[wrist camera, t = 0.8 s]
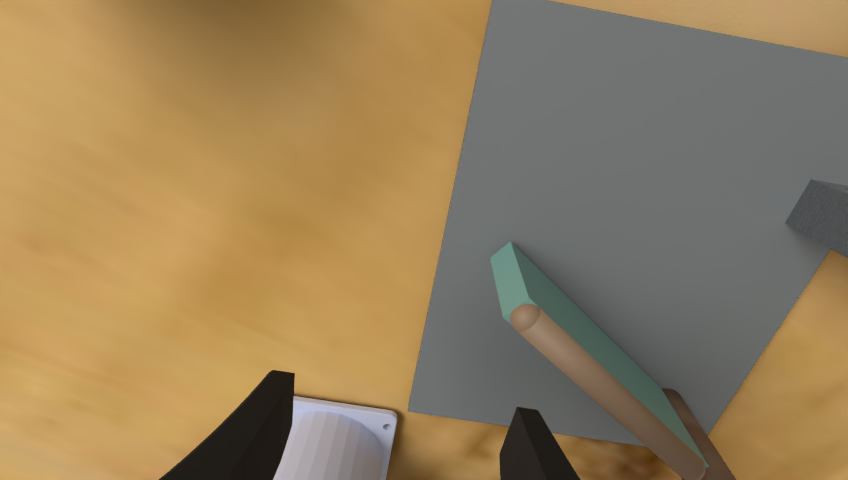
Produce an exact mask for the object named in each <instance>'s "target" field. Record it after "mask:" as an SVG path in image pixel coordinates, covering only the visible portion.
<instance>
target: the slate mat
mask: <svg viewBox="0 0 848 480" xmlns="http://www.w3.org/2000/svg"><path fill="white" fill-rule="evenodd" d="M811 179H812V180H818V181H823V182H829V183H834V184H840V185H846V186H848V58H847V57H841V56H836V55H831V54H826V53H820V52H815V51H810V50H805V49H799V48H794V47H789V46H784V45H778V44H773V43H768V42H763V41H757V40H752V39H747V38H742V37H737V36H731V35H726V34H721V33H716V32H710V31H705V30H700V29H695V28H689V27H684V26H679V25H674V24H668V23H663V22H658V21H653V20H647V19H642V18H637V17H632V16H626V15H621V14H616V13H611V12H606V11H600V10H595V9H590V8H585V7H579V6H574V5H569V4H564V3H558V2H553V1H548V0H492V4H491V9H490V14H489V19H488V23H487V28H486V33H485V38H484V43H483V48H482V52H481V57H480V62H479V67H478V72H477V76H476V81H475V86H474V91H473V96H472V101H471V105H470V110H469V115H468V120H467V125H466V130H465V134H464V139H463V144H462V149H461V154H460V158H459V163H458V168H457V173H456V178H455V183H454V187H453V192H452V197H451V202H450V207H449V212H448V216H447V221H446V226H445V231H444V236H443V240H442V245H441V250H440V255H439V260H438V265H437V269H436V274H435V279H434V284H433V289H432V294H431V298H430V303H429V308H428V313H427V318H426V322H425V327H424V332H423V337H422V342H421V347H420V351H419V356H418V361H417V366H416V371H415V376H414V380H413V385H412V390H411V395H410V400H409V406H408V412H415V413H422V414H429V415H435V416H442V417H449V418H456V419H462V420H469V421H476V422H483V423H489V424H496V425H503V426H510V424H511V421H512V419H513V416H514V413H515V410H516V408H517V407H522V408H529V409H536V410H538V411H539V412H540V414H541V416H542V417H543V419H544V421H545V423H546V424H547V426H548V428H549V429H550V431H551V433H557V434H564V435H570V436H577V437H584V438H591V439H597V440H604V441H611V442H618V443H624V444H631V445H638V446H645V445H644V444H643V443H642V442H641V441H640V440H638V439H637V438H636V437H635V436H634V435H633V434H632V433H631V432H629V431H628V430H627V429H626V428H625V427H624V426H623V425H622V424H620V423H619V422H618V421H617V420H616V419H615V418H614V417H613V416H611V415H610V414H609V413H608V412H607V411H606V410H605V409H604V408H603V407H601V406H600V405H599V404H598V403H597V402H596V401H595V400H594V399H592V398H591V397H590V396H589V395H588V394H587V393H586V392H585V391H583V390H582V389H581V388H580V387H579V386H578V385H577V384H576V383H574V382H573V381H572V380H571V379H570V378H569V377H568V376H567V375H565V374H564V373H563V372H562V371H561V370H560V369H559V368H558V367H556V366H555V365H554V364H553V363H552V362H551V361H550V360H549V359H547V358H546V357H545V356H544V355H543V354H542V353H541V352H540V351H538V350H537V349H536V348H535V347H534V346H533V345H532V344H531V343H529V342H528V341H527V340H526V339H525V338H524V337H523V336H522V335H520V334H519V333H518V332H517V331H516V330H515V329H514V328H513V326H512V325H511V324H510V323H509V322H508V321H506V320H505V319H504V318H503V315H502V311H501V306H500V302H499V297H498V292H497V288H496V283H495V279H494V274H493V269H492V265H491V260H490V257H492V256H493V255H494V254H495V253H496V252H498V251H499V250H500V249H501V248H503V247H504V246H505V245H506V244H507V243H509V242H510V241H511V242H512V243H513V244H514V245H515V246H516V247H517V248H518V249H519V250H520V251H521V252H522V253H523V254H524V255H525V256H526V257H527V258H528V259H529V260H530V261H531V262H532V263H533V264H534V265H535V266H536V267H537V268H538V269H539V270H540V271H542V272H543V273H544V274H545V275H546V276H547V277H548V278H549V279H550V280H551V281H552V282H553V283H554V284H555V285H556V286H557V287H558V288H559V289H560V290H561V291H562V292H563V293H564V294H565V295H566V296H567V297H568V298H569V299H570V300H571V301H572V302H573V303H574V304H575V305H576V306H577V307H578V308H579V309H580V310H582V311H583V312H584V313H585V314H586V315H587V316H588V317H589V318H590V319H591V320H592V321H593V322H594V323H595V324H596V325H597V326H598V327H599V328H600V329H601V330H602V331H603V332H604V333H605V334H606V335H607V336H608V337H609V338H610V339H611V340H612V341H613V342H614V343H615V344H616V345H617V346H618V347H619V348H620V349H621V350H623V351H624V352H625V353H626V354H627V355H628V356H629V357H630V358H631V359H632V360H633V361H634V362H635V363H636V364H637V365H638V366H639V367H640V368H641V369H642V370H643V371H644V372H645V373H646V374H647V375H648V376H649V377H650V378H651V379H652V380H653V381H654V382H655V383H656V384H657V385H658V386H659V387H660V388H661V389H664V388H668V389H673V390H675V391H677V392H678V393H679V394H680V395H681V397H682V398H683V400H684V401H685V403H686V404H687V406H688V407H689V409H690V410H691V412H692V413H693V415H694V416H695V418H696V420H697V421H698V423H699V424H700V426H701V427H702V429H703V430H704V432H705V433H706V435H707V436H708V434H709V433H710V431H711V430H712V428H713V427H714V425H715V424H716V422H717V421H718V419H719V418H720V416H721V415H722V413H723V412H724V410H725V409H726V407H727V406H728V404H729V403H730V401H731V399H732V398H733V396H734V395H735V393H736V392H737V390H738V389H739V387H740V386H741V384H742V383H743V381H744V380H745V378H746V377H747V375H748V374H749V372H750V371H751V369H752V368H753V366H754V365H755V363H756V362H757V360H758V359H759V357H760V356H761V354H762V353H763V351H764V349H765V348H766V346H767V345H768V343H769V342H770V340H771V339H772V337H773V336H774V334H775V333H776V331H777V330H778V328H779V327H780V325H781V324H782V322H783V321H784V319H785V318H786V316H787V315H788V313H789V312H790V310H791V309H792V307H793V306H794V304H795V303H796V301H797V299H798V298H799V296H800V295H801V293H802V292H803V290H804V289H805V287H806V286H807V284H808V283H809V281H810V280H811V278H812V277H813V275H814V274H815V272H816V271H817V269H818V268H819V266H820V265H821V263H822V262H823V260H824V259H825V257H826V256H827V254H828V253H829V251H830V250H831V248H829V247H827V246H826V245H824V244H822V243H820V242H818V241H817V240H815V239H813V238H811V237H809V236H808V235H806V234H804V233H802V232H801V231H799V230H797V229H795V228H793V227H792V226H790V225H788V224H786V223H785V222H786V220H787V219H788V217H789V215H790V214H791V212H792V210H793V208H794V207H795V205H796V203H797V202H798V200H799V198H800V197H801V195H802V193H803V191H804V190H805V188H806V186H807V185H808V183H809V181H810V180H811ZM645 447H646V446H645Z"/></svg>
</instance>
